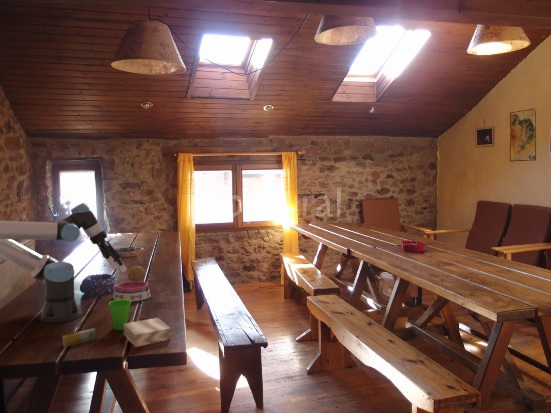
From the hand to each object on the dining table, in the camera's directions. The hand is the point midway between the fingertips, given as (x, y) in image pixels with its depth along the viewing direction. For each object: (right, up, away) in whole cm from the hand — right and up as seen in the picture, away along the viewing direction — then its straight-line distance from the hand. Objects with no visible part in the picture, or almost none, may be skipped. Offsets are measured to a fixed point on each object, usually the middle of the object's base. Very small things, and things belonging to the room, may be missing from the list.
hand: (120, 269), depth 227 cm
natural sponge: (-2, -13, +34) cm, 37 cm away
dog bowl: (+3, -15, +9) cm, 18 cm away
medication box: (+1, -21, -49) cm, 54 cm away
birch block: (+25, -21, -44) cm, 54 cm away
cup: (+12, -20, -35) cm, 42 cm away
